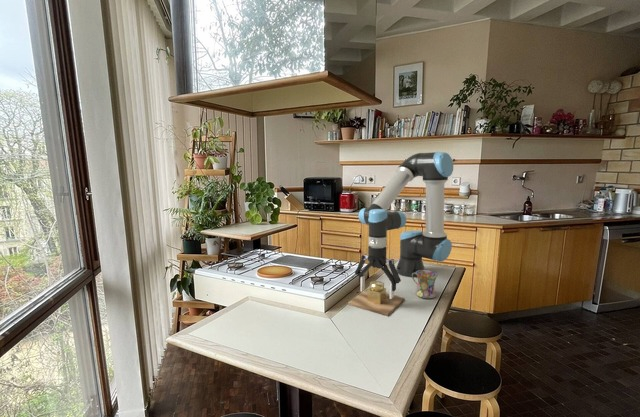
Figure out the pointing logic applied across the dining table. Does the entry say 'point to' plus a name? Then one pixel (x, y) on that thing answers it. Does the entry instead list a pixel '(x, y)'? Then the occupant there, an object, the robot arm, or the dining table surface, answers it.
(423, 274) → the mug
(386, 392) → the dining table surface
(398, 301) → the plate
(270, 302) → the dining table surface
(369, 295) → the knob
